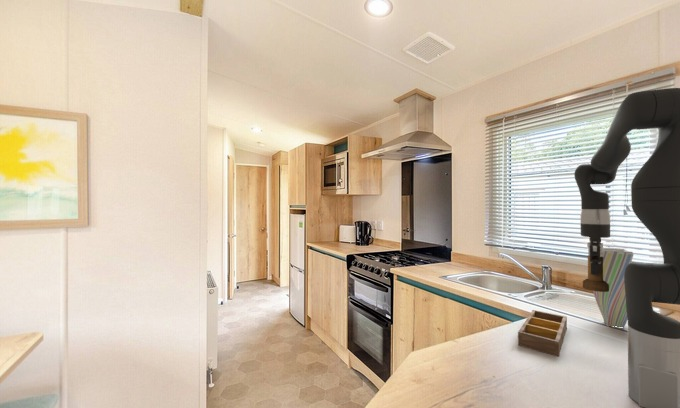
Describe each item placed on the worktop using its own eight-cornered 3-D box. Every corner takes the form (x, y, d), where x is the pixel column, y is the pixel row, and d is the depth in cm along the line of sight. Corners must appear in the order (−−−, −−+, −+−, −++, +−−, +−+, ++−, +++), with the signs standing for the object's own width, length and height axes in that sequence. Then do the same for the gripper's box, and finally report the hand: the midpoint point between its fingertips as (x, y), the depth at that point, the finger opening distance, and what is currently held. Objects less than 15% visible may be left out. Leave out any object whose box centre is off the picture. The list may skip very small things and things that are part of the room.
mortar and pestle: (585, 290, 96) (585, 236, 97) (580, 285, 102) (580, 234, 102) (612, 293, 93) (611, 237, 93) (605, 288, 99) (604, 235, 99)
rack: (558, 356, 91) (558, 342, 91) (518, 345, 98) (518, 331, 98) (566, 328, 111) (566, 316, 111) (532, 320, 119) (532, 309, 119)
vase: (632, 323, 116) (631, 248, 116) (643, 336, 105) (642, 253, 105) (588, 316, 124) (588, 245, 124) (594, 327, 112) (593, 249, 112)
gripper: (610, 224, 90) (611, 279, 90) (609, 222, 101) (610, 272, 100) (579, 223, 95) (579, 275, 95) (581, 221, 106) (582, 268, 105)
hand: (595, 273), depth 98 cm, fingers closed on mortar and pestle, 4 cm apart
